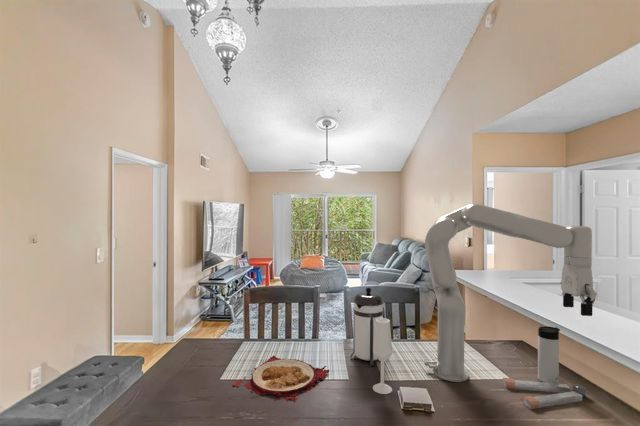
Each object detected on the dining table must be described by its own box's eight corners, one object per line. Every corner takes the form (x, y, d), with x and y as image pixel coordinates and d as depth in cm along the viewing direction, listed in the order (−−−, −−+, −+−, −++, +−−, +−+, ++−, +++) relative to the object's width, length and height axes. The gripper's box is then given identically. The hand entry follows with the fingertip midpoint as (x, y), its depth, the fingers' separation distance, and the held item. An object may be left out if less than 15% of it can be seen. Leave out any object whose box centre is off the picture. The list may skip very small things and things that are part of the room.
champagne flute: (379, 381, 118) (380, 315, 118) (395, 388, 114) (396, 320, 114) (368, 388, 114) (369, 320, 114) (384, 396, 109) (385, 324, 109)
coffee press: (392, 367, 129) (392, 292, 129) (351, 366, 130) (352, 291, 130) (384, 348, 147) (384, 282, 147) (348, 348, 147) (349, 282, 147)
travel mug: (563, 387, 115) (563, 331, 115) (542, 385, 116) (542, 330, 116) (554, 378, 121) (554, 325, 121) (534, 377, 122) (535, 324, 122)
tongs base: (579, 390, 113) (579, 382, 113) (588, 398, 108) (589, 390, 108) (502, 384, 117) (502, 376, 117) (508, 391, 112) (508, 383, 112)
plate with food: (273, 360, 137) (273, 351, 137) (329, 373, 124) (329, 364, 124) (232, 388, 115) (231, 378, 115) (295, 408, 103) (294, 397, 103)
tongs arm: (574, 396, 109) (574, 389, 109) (582, 401, 107) (582, 394, 107) (523, 404, 105) (523, 396, 105) (530, 409, 102) (530, 401, 102)
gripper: (551, 257, 121) (551, 303, 121) (582, 265, 104) (581, 318, 104) (573, 258, 120) (573, 304, 120) (608, 266, 103) (607, 319, 103)
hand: (577, 311), depth 112 cm, fingers open, 9 cm apart
